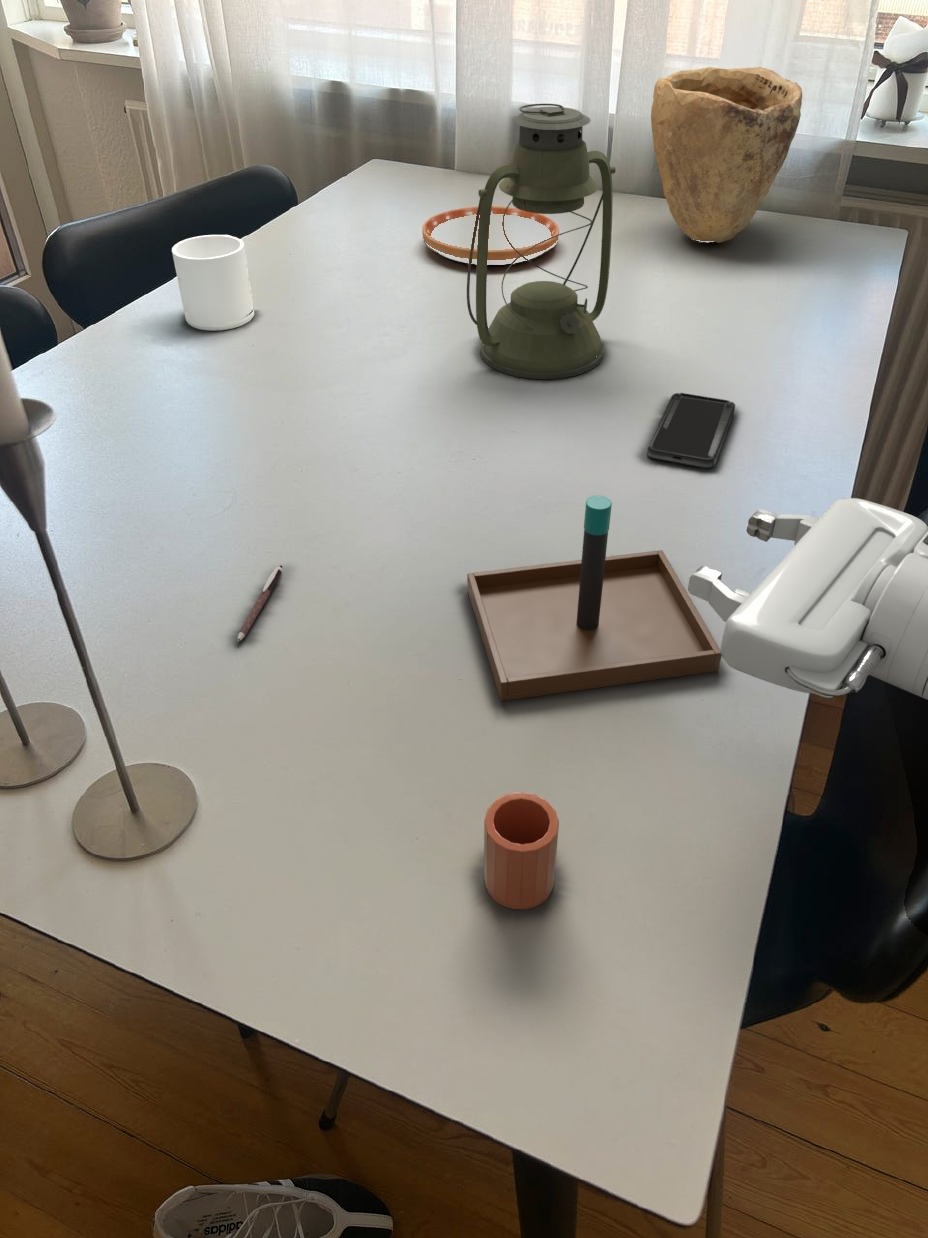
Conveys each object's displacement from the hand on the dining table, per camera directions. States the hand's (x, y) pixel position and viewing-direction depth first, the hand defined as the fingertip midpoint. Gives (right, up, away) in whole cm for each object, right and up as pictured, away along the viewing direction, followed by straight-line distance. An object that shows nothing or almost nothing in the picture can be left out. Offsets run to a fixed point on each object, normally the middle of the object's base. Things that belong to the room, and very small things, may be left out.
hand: (723, 548), depth 73 cm
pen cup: (-16, -23, -6) cm, 29 cm away
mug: (-55, +40, +71) cm, 98 cm away
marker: (-8, -6, +15) cm, 18 cm away
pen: (-39, -4, +18) cm, 43 cm away
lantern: (-9, +31, +60) cm, 68 cm away
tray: (-8, -6, +15) cm, 18 cm away
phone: (+7, +17, +42) cm, 46 cm away
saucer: (-15, +57, +91) cm, 109 cm away
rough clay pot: (+22, +59, +92) cm, 112 cm away
